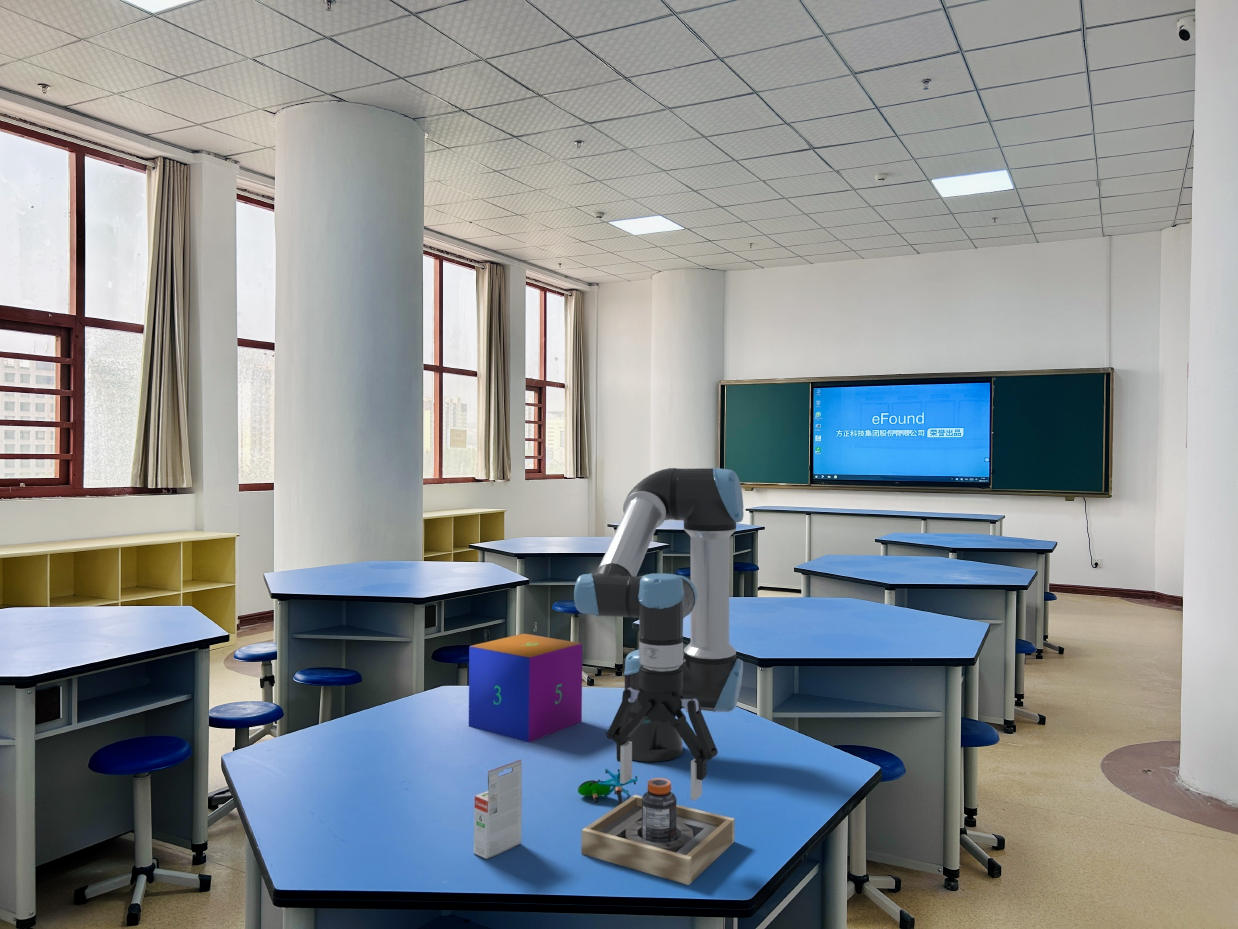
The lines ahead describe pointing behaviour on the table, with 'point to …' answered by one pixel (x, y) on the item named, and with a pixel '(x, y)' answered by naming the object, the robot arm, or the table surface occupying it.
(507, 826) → the ink box
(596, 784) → the stick construction toy
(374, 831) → the table surface
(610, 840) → the bore box
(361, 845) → the table surface
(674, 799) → the pill bottle
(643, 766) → the table surface
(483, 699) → the cube
